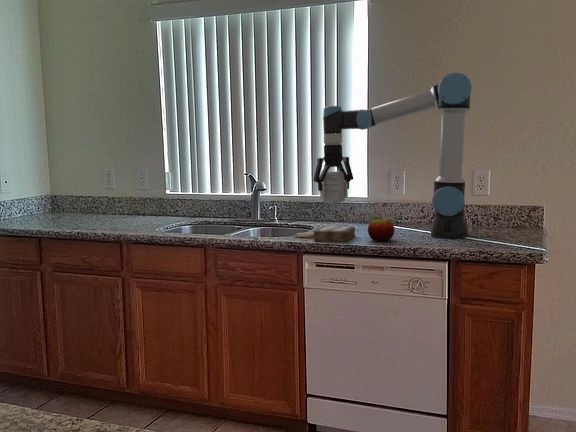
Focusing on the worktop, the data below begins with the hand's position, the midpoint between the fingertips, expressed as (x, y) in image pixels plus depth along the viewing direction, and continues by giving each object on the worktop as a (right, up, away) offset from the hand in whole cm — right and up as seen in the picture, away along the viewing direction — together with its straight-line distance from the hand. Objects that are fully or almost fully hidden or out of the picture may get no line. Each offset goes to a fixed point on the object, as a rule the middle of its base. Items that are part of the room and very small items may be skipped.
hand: (334, 197), depth 230 cm
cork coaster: (-11, -16, +10) cm, 22 cm away
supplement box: (0, -2, 0) cm, 2 cm away
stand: (+1, -17, +2) cm, 17 cm away
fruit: (+19, -18, -6) cm, 26 cm away
